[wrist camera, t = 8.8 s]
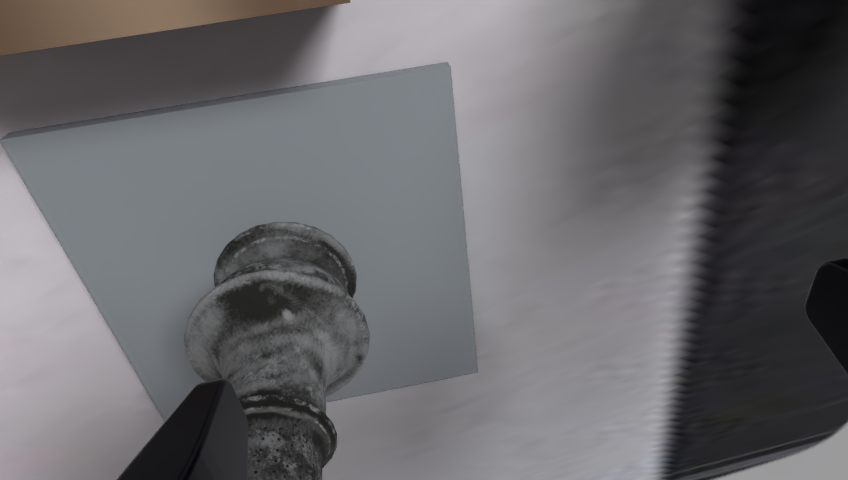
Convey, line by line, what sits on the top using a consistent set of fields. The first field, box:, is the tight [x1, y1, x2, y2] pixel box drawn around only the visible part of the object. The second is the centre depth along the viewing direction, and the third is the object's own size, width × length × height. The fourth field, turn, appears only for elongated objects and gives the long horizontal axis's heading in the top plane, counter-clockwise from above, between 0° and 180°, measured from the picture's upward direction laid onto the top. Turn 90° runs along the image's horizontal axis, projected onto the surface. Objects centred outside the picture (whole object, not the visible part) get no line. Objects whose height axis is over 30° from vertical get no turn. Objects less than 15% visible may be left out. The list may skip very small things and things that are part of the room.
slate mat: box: [0, 62, 478, 421], centre depth 21 cm, size 14×14×1 cm
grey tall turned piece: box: [184, 222, 370, 480], centre depth 15 cm, size 6×6×12 cm
